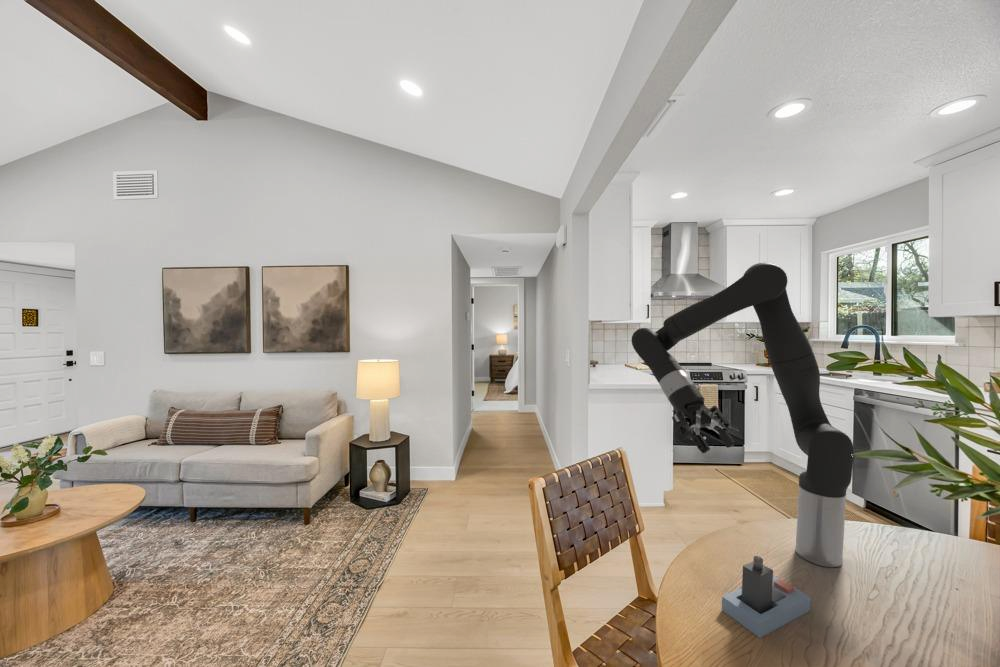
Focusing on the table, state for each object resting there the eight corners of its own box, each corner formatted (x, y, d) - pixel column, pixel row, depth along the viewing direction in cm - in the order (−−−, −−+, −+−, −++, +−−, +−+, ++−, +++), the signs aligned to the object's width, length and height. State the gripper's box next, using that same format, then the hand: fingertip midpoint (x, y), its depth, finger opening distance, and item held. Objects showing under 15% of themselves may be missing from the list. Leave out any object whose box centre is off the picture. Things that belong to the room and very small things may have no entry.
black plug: (753, 606, 87) (755, 551, 87) (771, 617, 84) (773, 560, 83) (741, 612, 86) (743, 556, 85) (758, 624, 83) (760, 566, 82)
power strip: (770, 586, 93) (771, 570, 93) (810, 610, 86) (810, 593, 86) (721, 610, 86) (722, 592, 86) (759, 638, 79) (760, 619, 79)
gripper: (669, 385, 103) (708, 446, 93) (709, 380, 109) (750, 436, 99) (652, 402, 108) (688, 461, 98) (691, 396, 114) (729, 451, 104)
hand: (719, 448), depth 99 cm, fingers open, 8 cm apart
